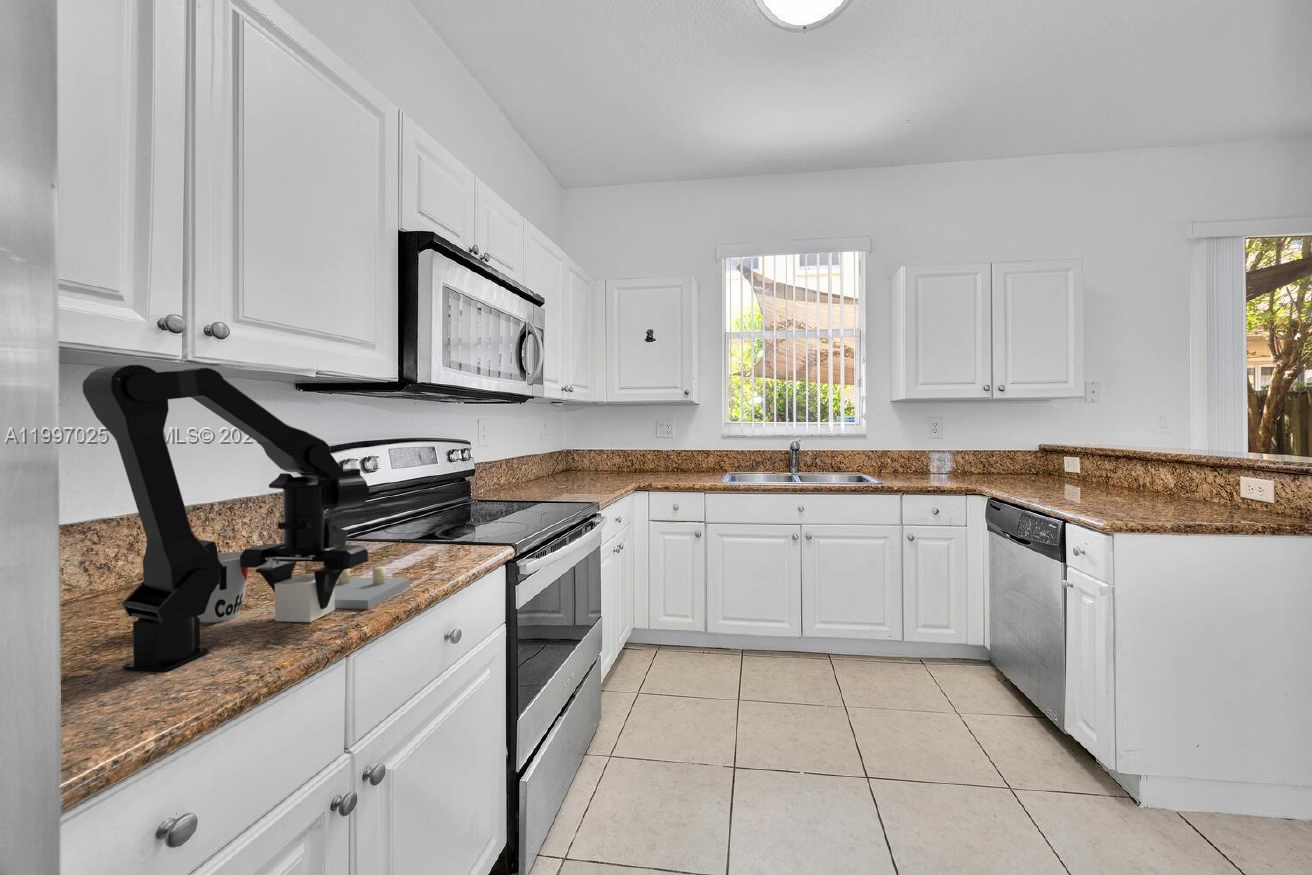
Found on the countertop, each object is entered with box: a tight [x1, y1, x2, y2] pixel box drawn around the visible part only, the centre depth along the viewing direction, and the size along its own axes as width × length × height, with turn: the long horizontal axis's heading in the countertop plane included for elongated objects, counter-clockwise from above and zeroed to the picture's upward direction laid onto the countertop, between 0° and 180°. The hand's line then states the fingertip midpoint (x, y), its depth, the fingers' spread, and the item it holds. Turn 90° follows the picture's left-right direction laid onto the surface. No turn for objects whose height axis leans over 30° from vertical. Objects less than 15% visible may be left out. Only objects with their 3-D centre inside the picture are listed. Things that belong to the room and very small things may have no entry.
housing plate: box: [335, 566, 411, 610], centre depth 106 cm, size 14×14×4 cm
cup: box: [198, 551, 249, 624], centre depth 94 cm, size 8×8×10 cm
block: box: [274, 573, 336, 623], centre depth 94 cm, size 6×6×6 cm
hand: (305, 607), depth 94 cm, fingers closed on block, 6 cm apart
